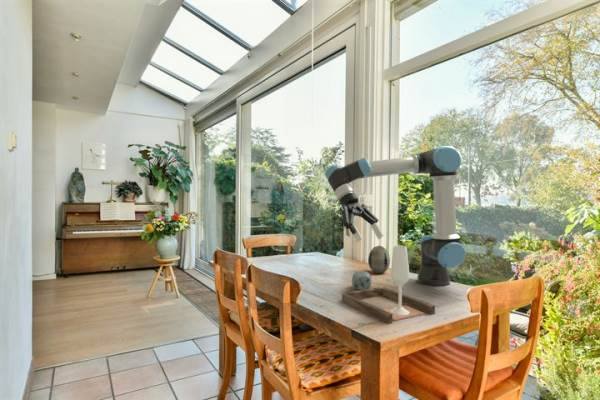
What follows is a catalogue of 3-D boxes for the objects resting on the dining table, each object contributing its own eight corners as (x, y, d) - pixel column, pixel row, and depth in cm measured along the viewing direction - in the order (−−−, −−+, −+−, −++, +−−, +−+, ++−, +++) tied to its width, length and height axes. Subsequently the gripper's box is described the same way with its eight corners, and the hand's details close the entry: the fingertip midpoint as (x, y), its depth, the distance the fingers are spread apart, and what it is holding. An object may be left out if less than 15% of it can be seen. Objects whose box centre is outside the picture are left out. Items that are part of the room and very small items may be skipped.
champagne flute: (388, 308, 133) (388, 245, 132) (406, 308, 132) (406, 245, 132) (393, 315, 126) (392, 248, 125) (412, 315, 126) (411, 248, 125)
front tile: (405, 306, 137) (405, 305, 137) (424, 314, 128) (424, 313, 128) (376, 312, 130) (376, 310, 130) (394, 320, 122) (394, 319, 122)
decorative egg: (363, 272, 197) (363, 245, 197) (380, 269, 202) (380, 243, 201) (376, 276, 186) (376, 248, 186) (394, 274, 191) (394, 246, 191)
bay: (382, 293, 155) (382, 286, 155) (434, 313, 129) (434, 305, 129) (340, 300, 145) (340, 293, 145) (387, 323, 119) (387, 315, 119)
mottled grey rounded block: (375, 287, 153) (365, 265, 156) (356, 296, 154) (345, 275, 157) (376, 286, 166) (367, 267, 169) (358, 295, 167) (349, 275, 170)
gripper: (360, 201, 162) (383, 240, 153) (321, 202, 146) (344, 246, 137) (370, 191, 158) (395, 231, 148) (331, 191, 142) (356, 236, 132)
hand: (370, 238), depth 143 cm, fingers open, 13 cm apart
